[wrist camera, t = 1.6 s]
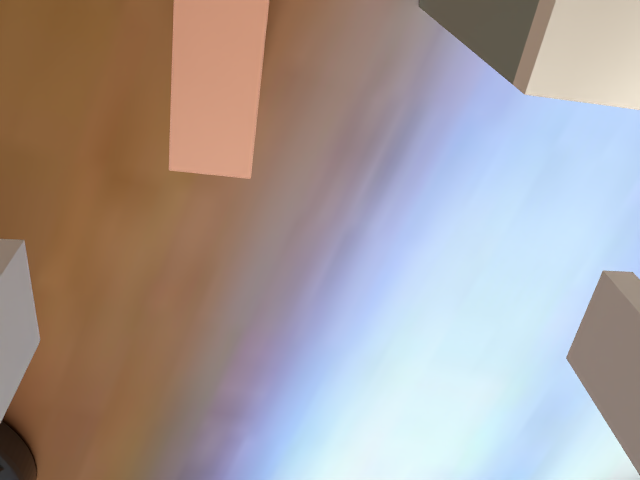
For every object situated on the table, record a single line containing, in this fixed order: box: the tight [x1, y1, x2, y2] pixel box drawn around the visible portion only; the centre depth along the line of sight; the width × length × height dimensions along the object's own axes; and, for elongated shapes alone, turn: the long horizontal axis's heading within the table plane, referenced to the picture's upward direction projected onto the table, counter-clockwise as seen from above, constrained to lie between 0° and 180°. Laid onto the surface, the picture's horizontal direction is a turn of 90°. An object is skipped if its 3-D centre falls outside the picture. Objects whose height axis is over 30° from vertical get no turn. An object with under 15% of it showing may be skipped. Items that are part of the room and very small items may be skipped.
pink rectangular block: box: [169, 0, 269, 179], centre depth 25 cm, size 3×7×10 cm, turn 171°
